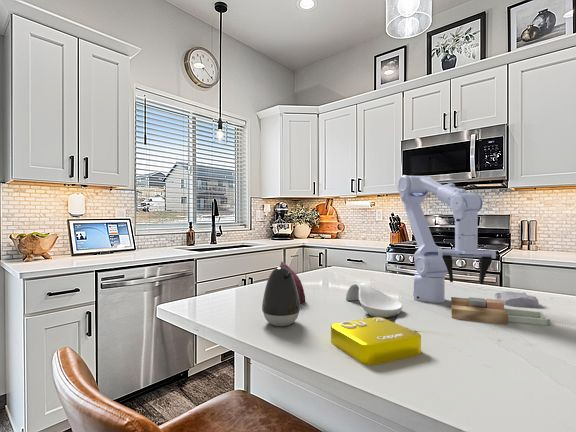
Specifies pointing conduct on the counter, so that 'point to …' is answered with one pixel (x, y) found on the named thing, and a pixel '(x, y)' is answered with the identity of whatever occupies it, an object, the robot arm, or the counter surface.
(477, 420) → the counter surface
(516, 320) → the sage tray
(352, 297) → the spoon rest
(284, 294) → the black egg shape
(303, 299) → the vegetable
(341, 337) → the element tile
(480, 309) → the oak channel board
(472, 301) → the grey steel block
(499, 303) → the terracotta block
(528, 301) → the stone block
